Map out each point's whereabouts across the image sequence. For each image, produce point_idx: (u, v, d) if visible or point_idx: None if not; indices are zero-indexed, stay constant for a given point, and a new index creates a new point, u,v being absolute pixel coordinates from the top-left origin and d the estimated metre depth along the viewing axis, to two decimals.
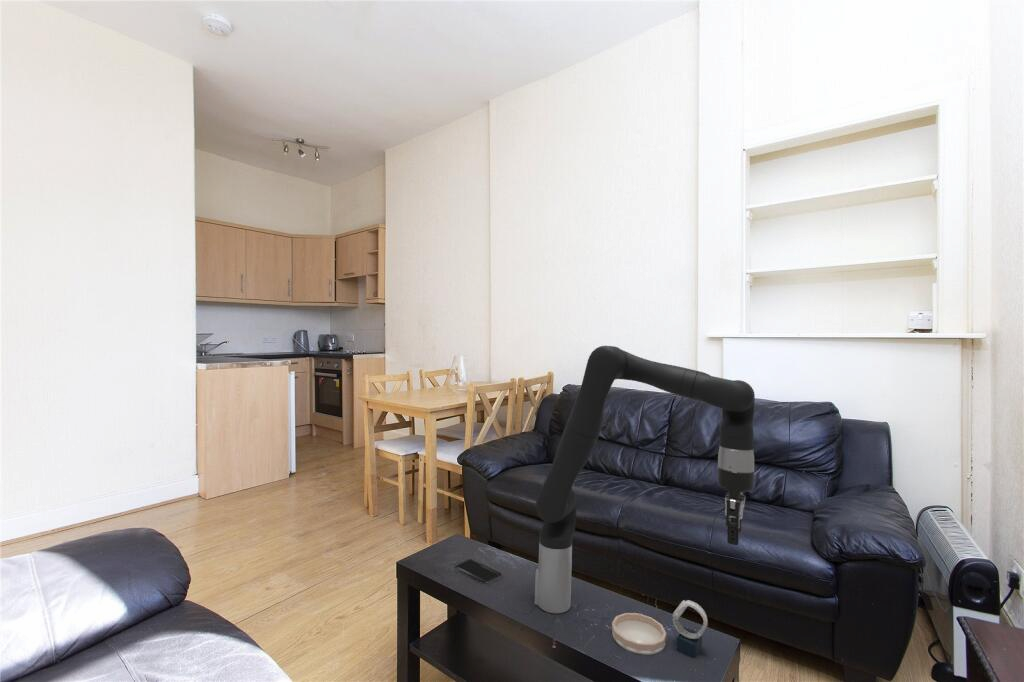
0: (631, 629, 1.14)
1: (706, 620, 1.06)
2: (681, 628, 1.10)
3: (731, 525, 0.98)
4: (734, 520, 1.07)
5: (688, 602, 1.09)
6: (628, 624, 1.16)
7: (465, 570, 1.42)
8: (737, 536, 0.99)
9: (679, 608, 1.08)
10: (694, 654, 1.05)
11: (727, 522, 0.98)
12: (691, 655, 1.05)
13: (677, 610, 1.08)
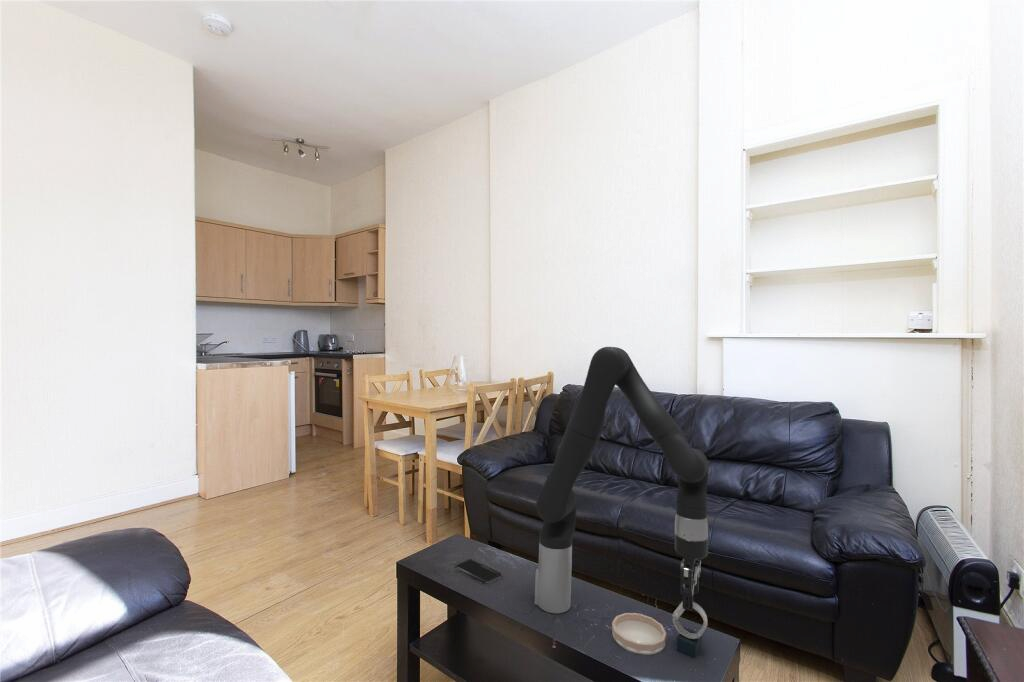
0: (631, 629, 1.14)
1: (706, 620, 1.06)
2: (681, 628, 1.10)
3: (685, 593, 1.03)
4: None
5: None
6: (628, 624, 1.16)
7: (465, 570, 1.42)
8: (691, 602, 1.04)
9: (679, 608, 1.08)
10: (694, 654, 1.05)
11: (681, 590, 1.03)
12: (691, 655, 1.05)
13: (677, 610, 1.08)
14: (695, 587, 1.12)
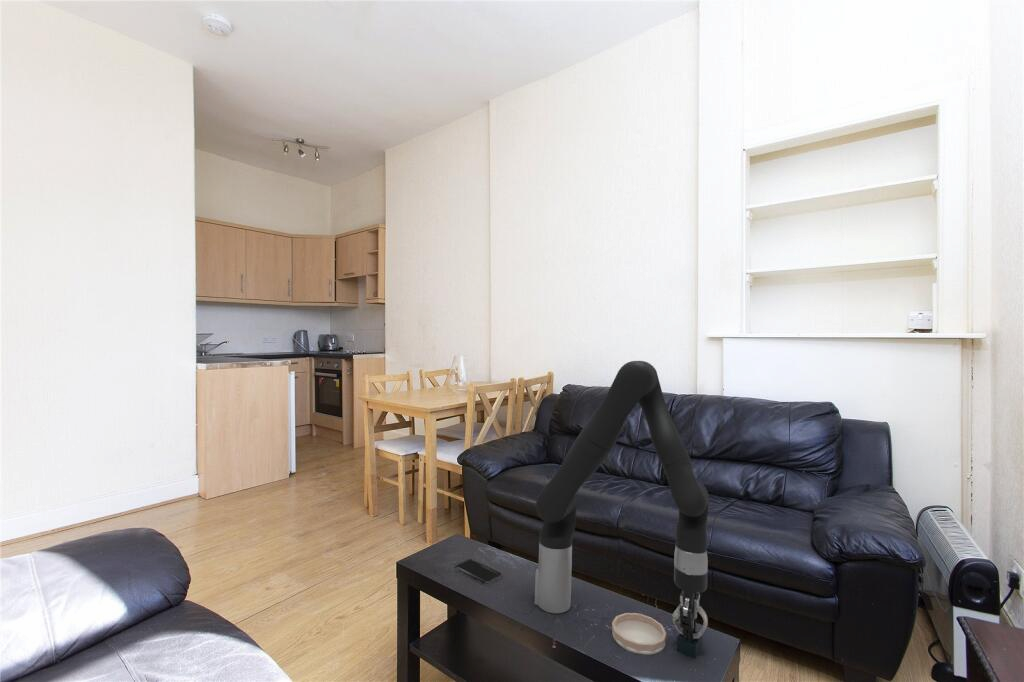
0: (631, 629, 1.14)
1: (706, 620, 1.06)
2: (681, 628, 1.10)
3: (685, 627, 1.04)
4: None
5: None
6: (628, 624, 1.16)
7: (465, 570, 1.42)
8: (691, 636, 1.06)
9: None
10: (694, 654, 1.05)
11: (681, 625, 1.05)
12: (691, 655, 1.05)
13: (677, 610, 1.08)
14: (692, 627, 1.10)
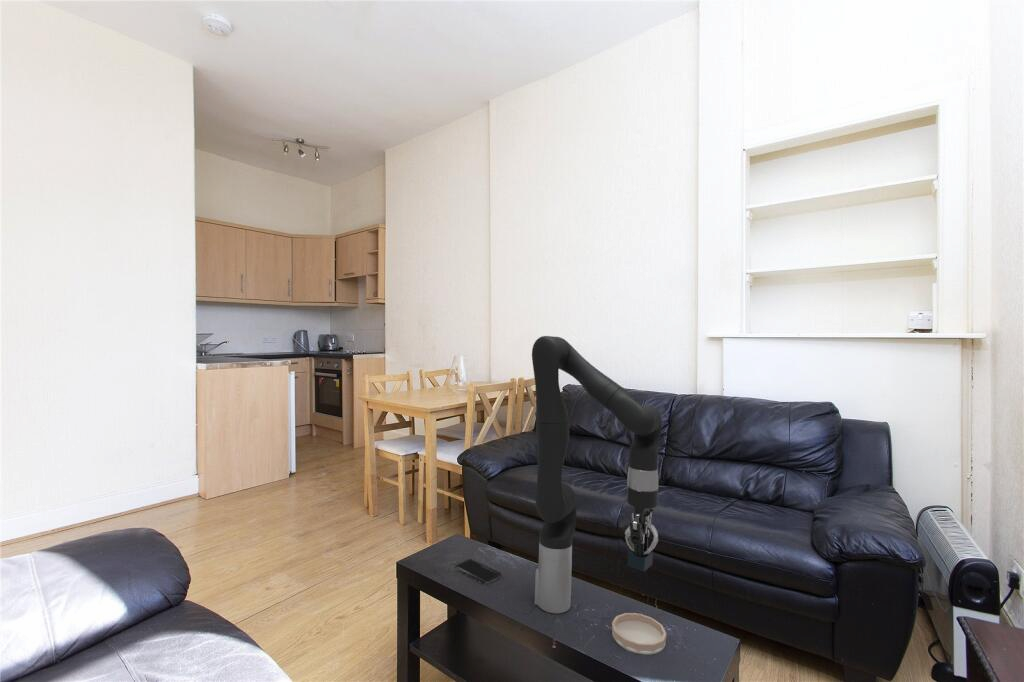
0: (631, 629, 1.14)
1: (656, 536, 1.10)
2: (633, 546, 1.14)
3: (635, 541, 1.09)
4: None
5: None
6: (628, 624, 1.16)
7: (465, 570, 1.42)
8: (642, 550, 1.10)
9: None
10: (643, 567, 1.09)
11: (632, 539, 1.09)
12: (640, 568, 1.09)
13: (629, 527, 1.12)
14: (644, 545, 1.14)
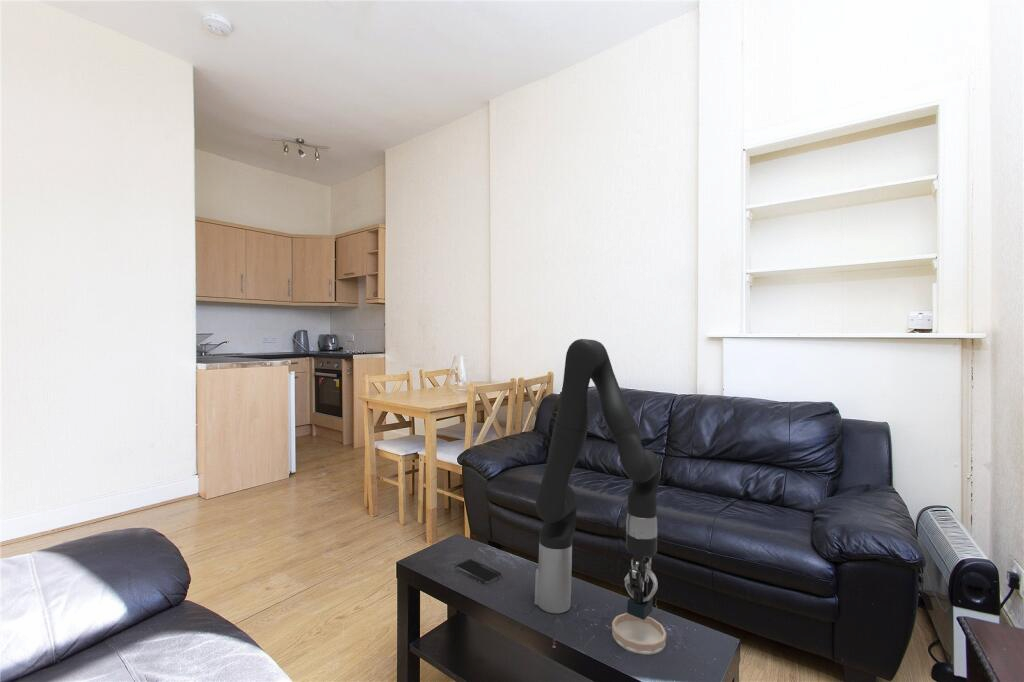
0: (631, 629, 1.14)
1: (656, 583, 1.10)
2: (633, 592, 1.13)
3: (635, 589, 1.08)
4: None
5: None
6: (628, 624, 1.16)
7: (465, 570, 1.42)
8: (641, 598, 1.10)
9: None
10: (643, 615, 1.08)
11: (631, 587, 1.09)
12: (640, 617, 1.09)
13: None
14: (644, 591, 1.13)
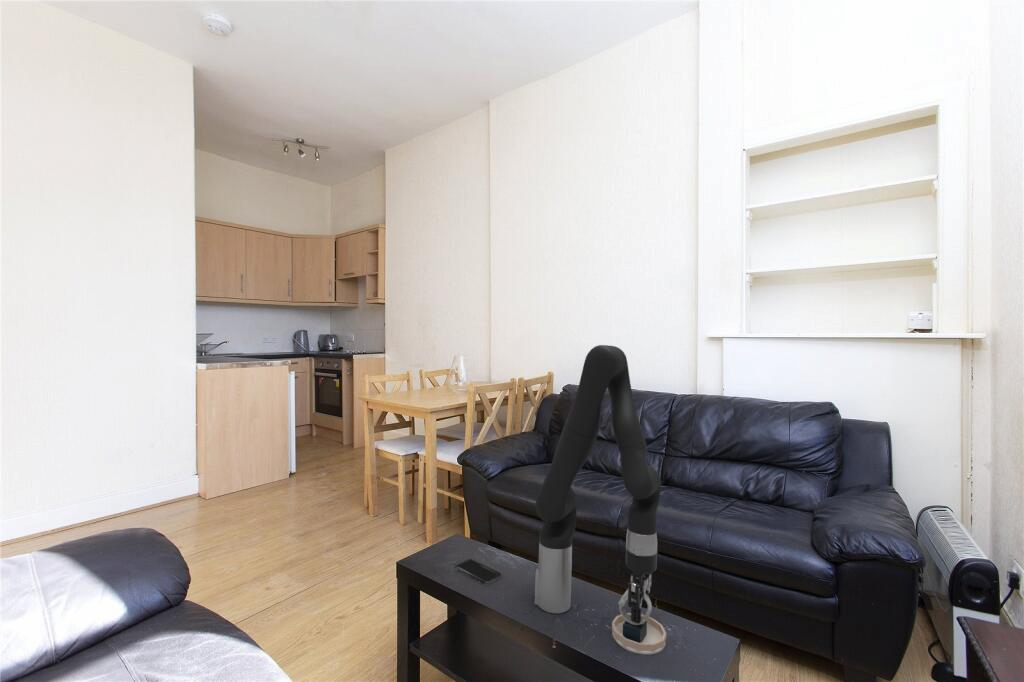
0: None
1: (650, 605, 1.10)
2: (627, 616, 1.13)
3: (632, 606, 1.07)
4: None
5: None
6: None
7: (465, 570, 1.42)
8: (639, 615, 1.08)
9: (625, 594, 1.11)
10: (639, 639, 1.08)
11: (629, 603, 1.07)
12: (636, 641, 1.08)
13: (623, 597, 1.11)
14: (645, 602, 1.15)
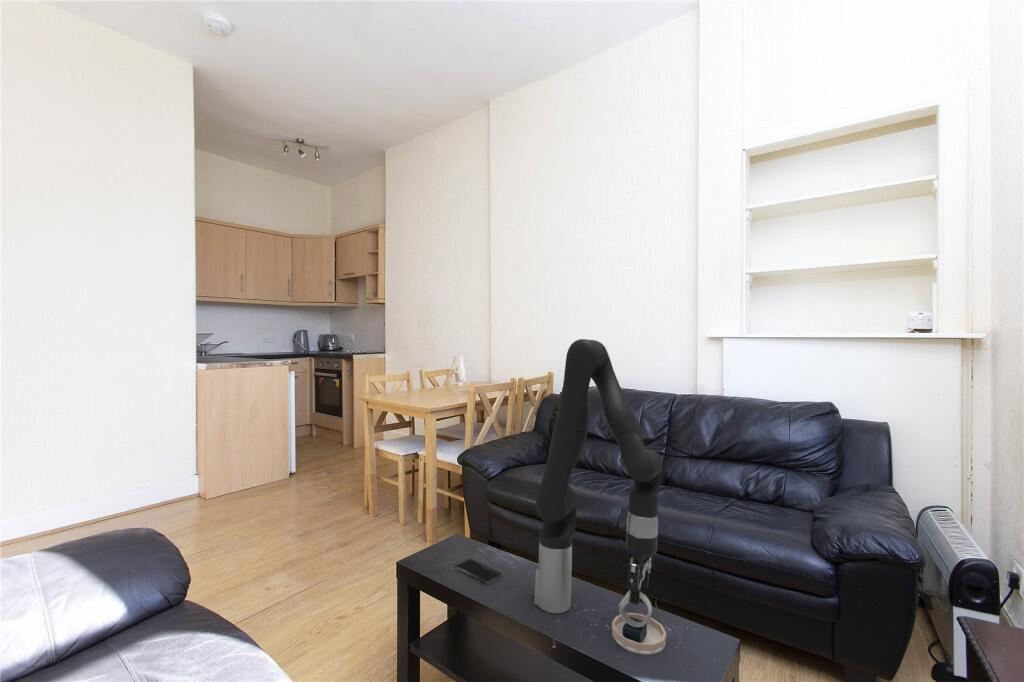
0: None
1: (650, 608, 1.09)
2: (627, 617, 1.12)
3: (631, 587, 1.06)
4: None
5: None
6: None
7: (465, 570, 1.42)
8: (638, 597, 1.08)
9: (625, 598, 1.10)
10: (639, 642, 1.07)
11: (628, 584, 1.07)
12: None
13: (623, 600, 1.10)
14: (645, 582, 1.16)
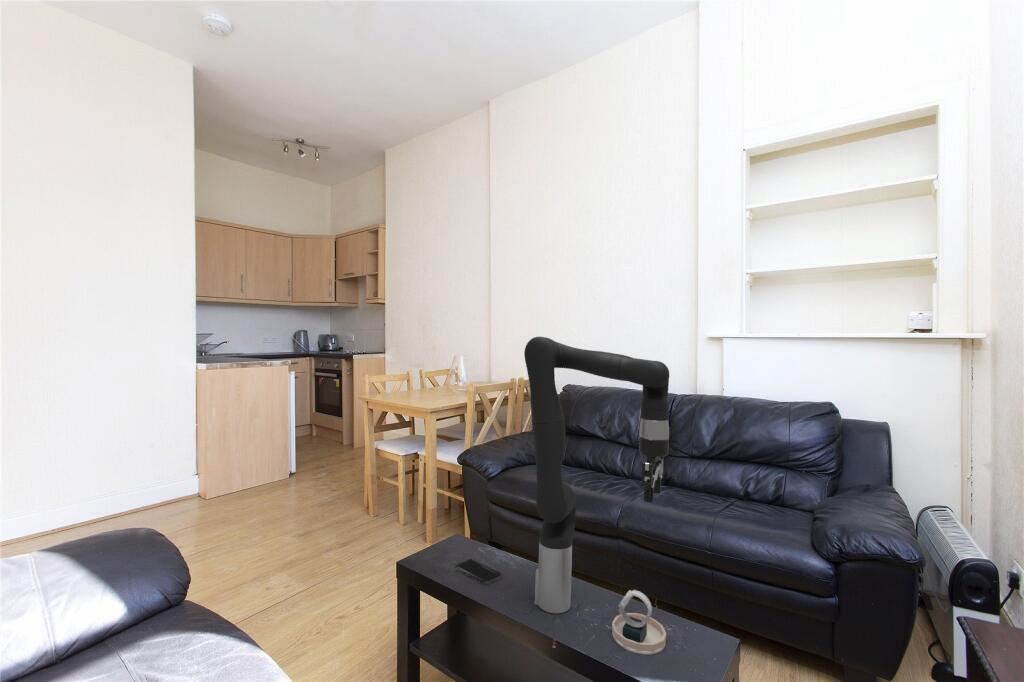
0: None
1: (650, 608, 1.09)
2: (627, 617, 1.12)
3: (645, 484, 1.13)
4: (655, 483, 1.22)
5: (634, 592, 1.11)
6: None
7: (465, 570, 1.42)
8: (652, 494, 1.14)
9: (625, 598, 1.10)
10: (639, 642, 1.07)
11: (642, 482, 1.13)
12: None
13: (623, 600, 1.10)
14: (658, 487, 1.22)
